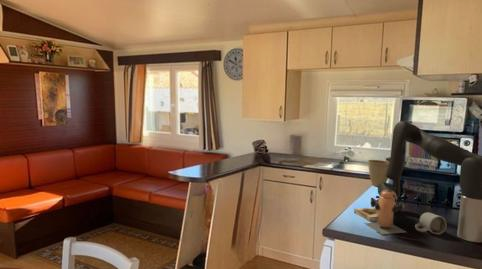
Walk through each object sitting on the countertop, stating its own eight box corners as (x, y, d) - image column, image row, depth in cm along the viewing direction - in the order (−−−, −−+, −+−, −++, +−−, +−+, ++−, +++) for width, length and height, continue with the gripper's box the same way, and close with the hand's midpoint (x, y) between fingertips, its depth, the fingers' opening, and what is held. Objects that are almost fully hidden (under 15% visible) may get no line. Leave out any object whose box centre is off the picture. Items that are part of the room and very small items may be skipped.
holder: (375, 212, 166) (375, 207, 165) (392, 220, 154) (392, 215, 154) (353, 213, 163) (354, 208, 162) (369, 222, 151) (369, 217, 151)
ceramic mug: (432, 227, 148) (433, 210, 147) (446, 234, 140) (447, 216, 139) (410, 228, 147) (411, 210, 146) (423, 235, 138) (424, 217, 138)
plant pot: (384, 189, 211) (386, 164, 209) (362, 185, 222) (364, 161, 220) (394, 186, 221) (396, 162, 219) (372, 181, 232) (374, 159, 230)
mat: (387, 223, 151) (387, 221, 151) (406, 233, 140) (406, 231, 140) (364, 224, 148) (364, 223, 148) (381, 235, 137) (382, 233, 137)
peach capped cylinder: (377, 220, 148) (380, 189, 146) (392, 223, 145) (395, 192, 144) (376, 226, 141) (379, 194, 140) (392, 229, 139) (394, 196, 137)
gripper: (371, 188, 159) (368, 197, 143) (405, 193, 152) (405, 203, 137) (370, 204, 159) (367, 214, 144) (404, 209, 153) (404, 221, 138)
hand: (386, 209), depth 141 cm, fingers closed on peach capped cylinder, 6 cm apart
